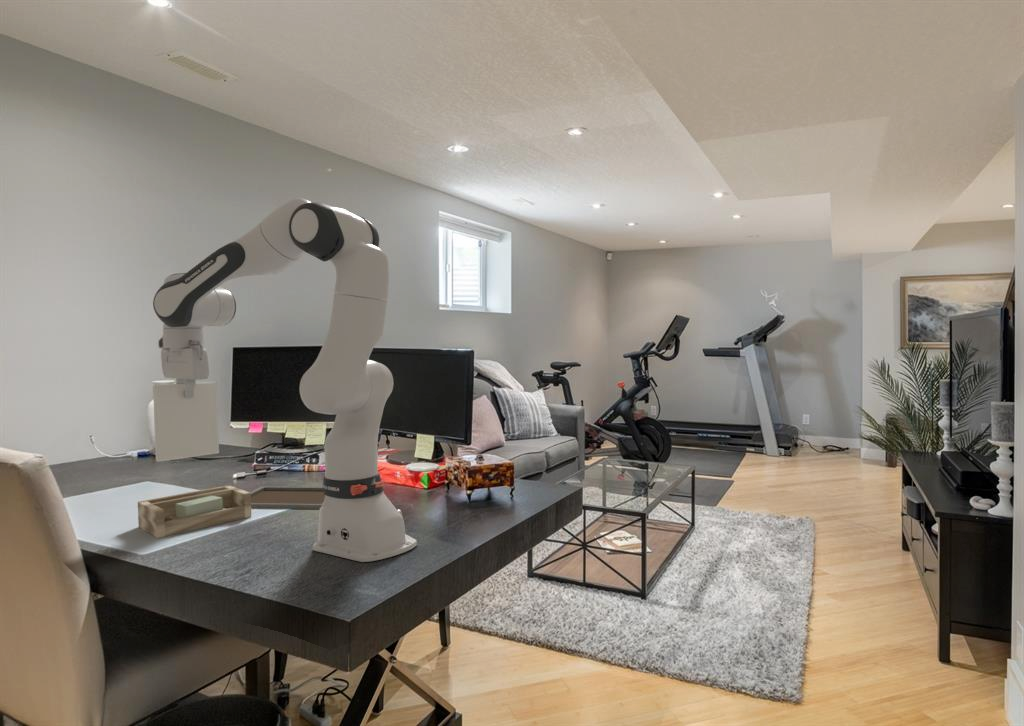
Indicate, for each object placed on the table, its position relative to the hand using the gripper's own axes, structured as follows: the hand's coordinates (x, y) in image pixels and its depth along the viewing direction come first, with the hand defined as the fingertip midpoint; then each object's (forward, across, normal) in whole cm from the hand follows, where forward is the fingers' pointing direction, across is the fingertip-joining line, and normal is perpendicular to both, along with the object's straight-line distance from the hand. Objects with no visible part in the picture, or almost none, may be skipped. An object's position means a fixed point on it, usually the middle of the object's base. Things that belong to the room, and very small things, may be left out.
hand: (186, 397), depth 150 cm
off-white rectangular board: (+15, 0, 0) cm, 15 cm away
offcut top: (+28, -6, 0) cm, 28 cm away
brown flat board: (+31, 0, -25) cm, 40 cm away
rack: (+30, -4, 0) cm, 30 cm away
